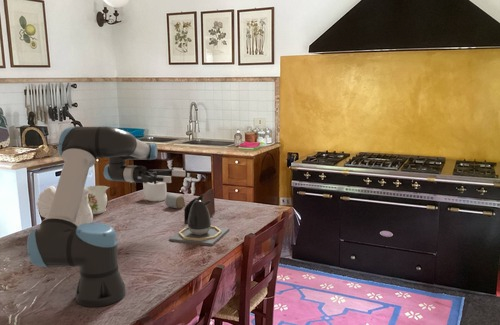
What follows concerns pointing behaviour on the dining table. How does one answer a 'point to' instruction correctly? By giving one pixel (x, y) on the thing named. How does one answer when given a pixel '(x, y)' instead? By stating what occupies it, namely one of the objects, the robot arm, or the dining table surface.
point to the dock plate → (200, 236)
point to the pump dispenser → (199, 218)
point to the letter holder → (204, 197)
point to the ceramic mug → (174, 200)
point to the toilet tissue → (155, 191)
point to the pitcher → (97, 198)
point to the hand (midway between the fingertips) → (178, 176)
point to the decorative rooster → (47, 199)
